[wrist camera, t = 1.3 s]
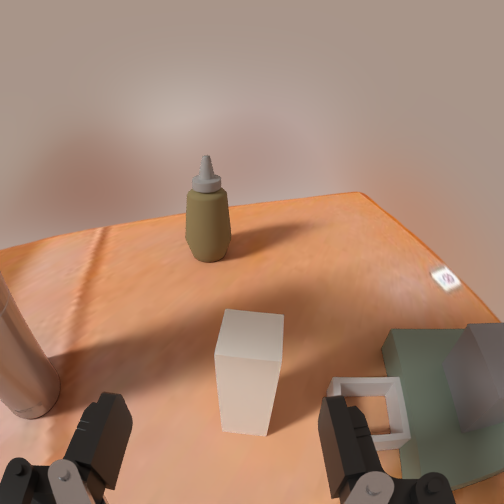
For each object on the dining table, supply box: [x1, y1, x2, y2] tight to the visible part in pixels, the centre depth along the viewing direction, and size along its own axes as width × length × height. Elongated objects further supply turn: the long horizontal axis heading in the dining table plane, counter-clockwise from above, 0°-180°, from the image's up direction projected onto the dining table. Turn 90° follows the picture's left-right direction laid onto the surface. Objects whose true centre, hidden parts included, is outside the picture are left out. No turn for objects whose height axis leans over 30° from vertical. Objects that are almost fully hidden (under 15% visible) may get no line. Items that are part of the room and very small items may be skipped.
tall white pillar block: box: [214, 309, 284, 436], centre depth 25 cm, size 5×5×14 cm
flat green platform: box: [327, 323, 504, 491], centre depth 25 cm, size 24×22×11 cm
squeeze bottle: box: [185, 156, 231, 262], centre depth 50 cm, size 8×8×18 cm
